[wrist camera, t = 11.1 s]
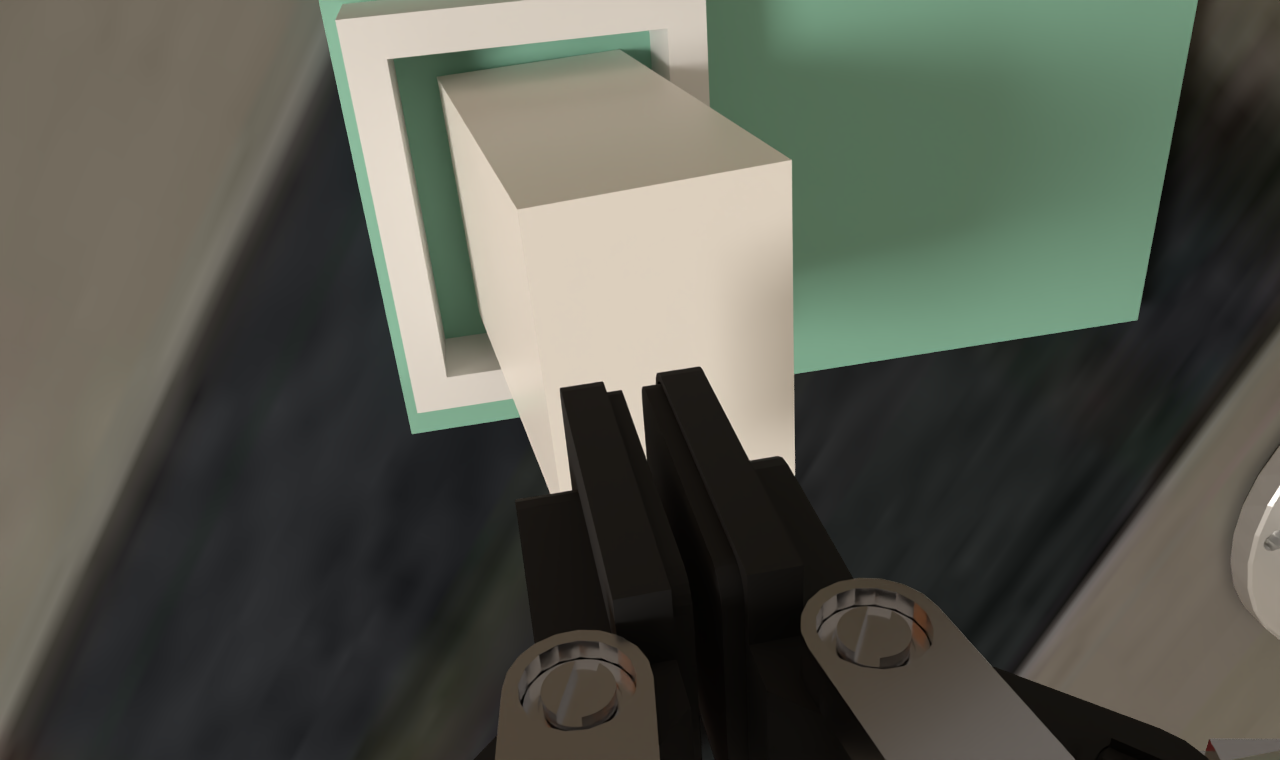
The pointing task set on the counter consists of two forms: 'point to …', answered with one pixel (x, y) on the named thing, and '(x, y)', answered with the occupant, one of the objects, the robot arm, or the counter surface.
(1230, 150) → the counter surface
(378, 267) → the board
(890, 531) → the counter surface
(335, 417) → the counter surface
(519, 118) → the plug
